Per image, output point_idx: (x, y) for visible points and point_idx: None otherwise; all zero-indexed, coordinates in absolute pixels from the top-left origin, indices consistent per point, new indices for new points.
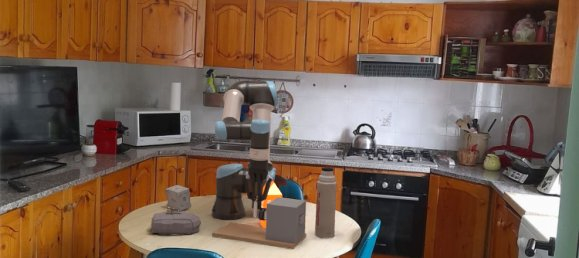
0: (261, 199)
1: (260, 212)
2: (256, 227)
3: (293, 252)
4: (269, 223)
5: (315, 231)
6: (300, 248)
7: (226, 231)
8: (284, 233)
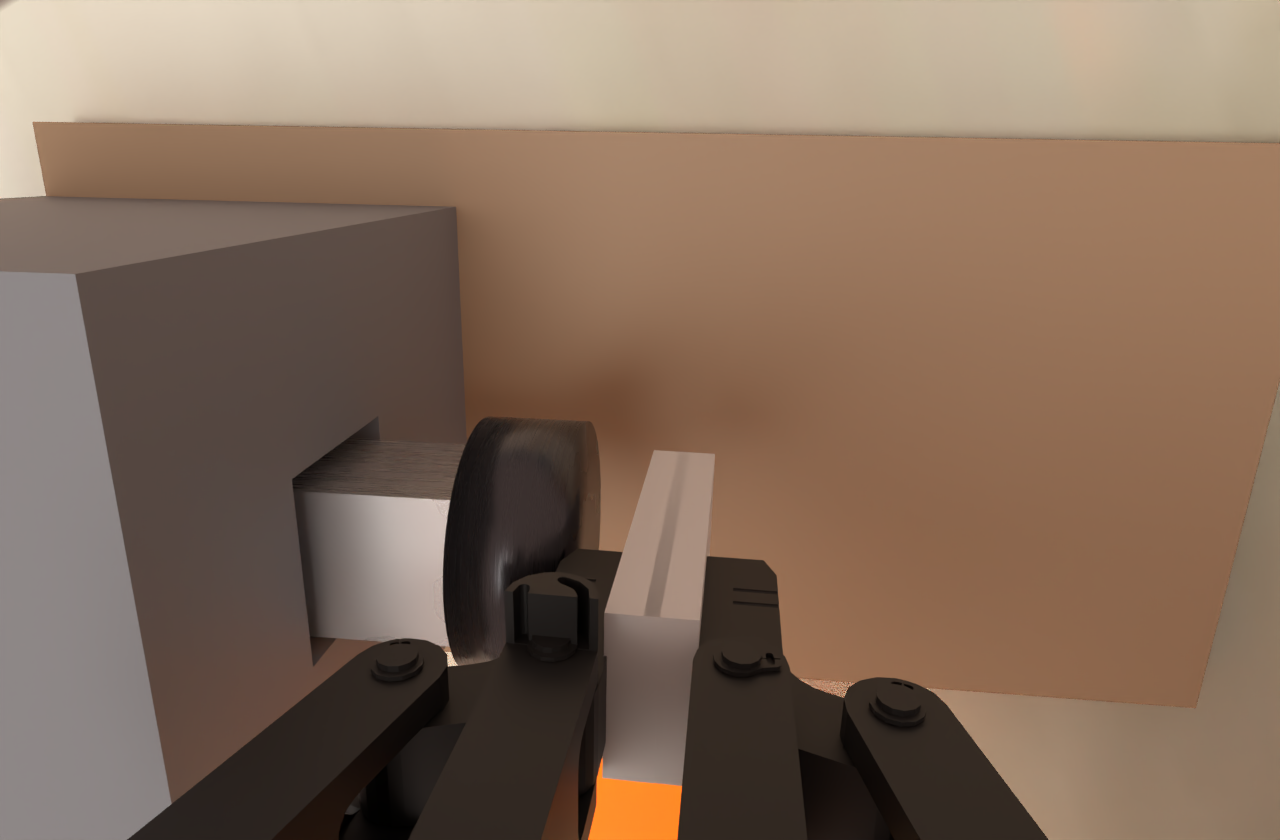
0: (443, 661)
1: (529, 459)
2: None
3: (6, 3)
4: (286, 220)
5: None
6: (14, 194)
7: (1129, 300)
8: (104, 207)
